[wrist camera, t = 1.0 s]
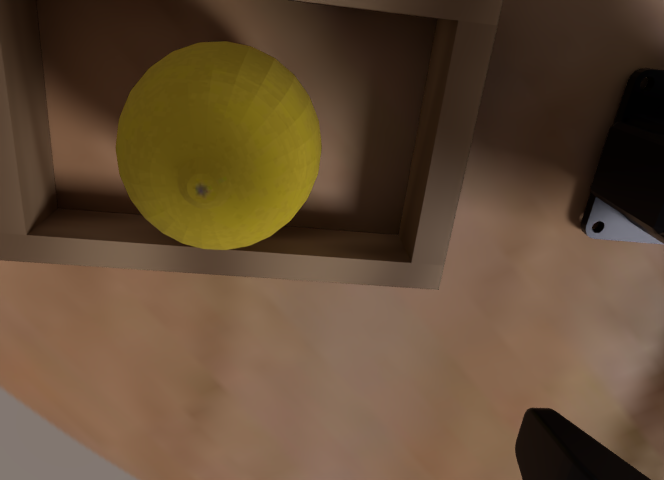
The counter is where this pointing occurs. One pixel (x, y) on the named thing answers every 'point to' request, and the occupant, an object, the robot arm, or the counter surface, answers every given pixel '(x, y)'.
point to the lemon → (218, 145)
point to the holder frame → (288, 242)
